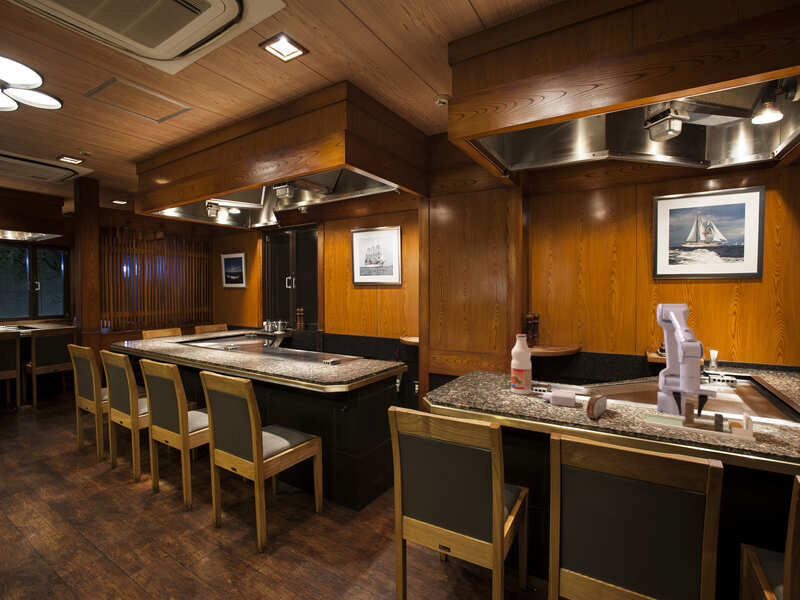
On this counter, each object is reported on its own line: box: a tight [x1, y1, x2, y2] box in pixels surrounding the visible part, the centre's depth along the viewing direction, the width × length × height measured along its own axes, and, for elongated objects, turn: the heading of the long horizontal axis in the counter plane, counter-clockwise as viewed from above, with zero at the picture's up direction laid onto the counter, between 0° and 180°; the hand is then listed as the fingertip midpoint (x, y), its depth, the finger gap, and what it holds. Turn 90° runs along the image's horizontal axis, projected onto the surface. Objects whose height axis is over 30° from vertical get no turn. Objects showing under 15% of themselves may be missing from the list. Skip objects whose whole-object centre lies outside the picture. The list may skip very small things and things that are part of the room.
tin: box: [586, 392, 608, 420], centre depth 155 cm, size 15×3×8 cm, turn 134°
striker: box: [682, 402, 724, 432], centre depth 137 cm, size 11×4×7 cm, turn 56°
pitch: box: [644, 412, 756, 443], centre depth 138 cm, size 30×13×8 cm, turn 56°
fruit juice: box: [510, 333, 532, 395], centre depth 192 cm, size 9×9×28 cm
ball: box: [729, 422, 743, 432], centre depth 132 cm, size 4×4×4 cm
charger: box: [537, 390, 576, 408], centre depth 175 cm, size 5×9×15 cm
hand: (689, 415), depth 139 cm, fingers open, 5 cm apart
